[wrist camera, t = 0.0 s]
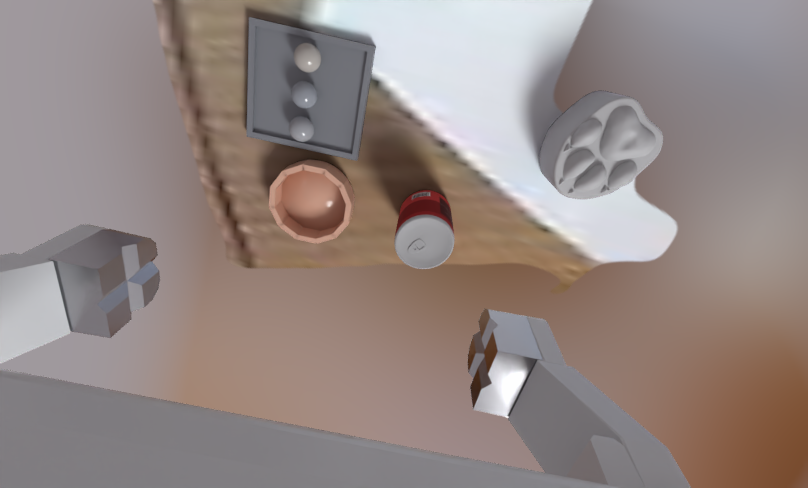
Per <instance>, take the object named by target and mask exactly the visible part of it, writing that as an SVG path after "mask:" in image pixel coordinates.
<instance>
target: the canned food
mask: <svg viewBox="0 0 808 488" xmlns="http://www.w3.org/2000/svg"><path fill="white" fill-rule="evenodd" d="M453 247H454V230H453V223H452V216H451V209H450V205H449V203H448V201H447V200H446V199H445V198H444V197H443V196H442V195H441V194H439V193H437V192H435V191H431V190H422V191H418V192H415V193H413V194H412V195H410V196H409V197H408V198H407V199H406V200H405V201H404V202H403V204H402V206H401V209H400V214H399V219H398V224H397V229H396V234H395V250H396V252H397V255H398V256H399V258H400V259H401V260H402V261H403V262H404V263H405V264H407V265H409V266H411V267H414V268H418V269H428V268H433V267H436V266H438V265H440V264H442V263H443V262H444V261H446V259H447V258H448V257H449V256H450V254H451V253H452V250H453Z"/></svg>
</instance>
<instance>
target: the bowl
mask: <svg viewBox="0 0 808 488" xmlns="http://www.w3.org/2000/svg"><path fill="white" fill-rule="evenodd" d="M354 202H355V196H354V192H353V189H352V186H351V184H350V182H349V180H348V179H347V177H346V176H345V175H344V174H343V173H342V172H341V171H340V170H339V169H338V168H336V167H335V166H333V165H331V164H329V163H327V162H324V161H321V160H314V159H307V160H303V161H299V162H297V163H295V164H292V165H289V166H288V167H286V168H285V169H284V170H283V171H282V172H281V173H280V175H279V176H278V177H277V178H276V180H275V181H274V182H273V184H272V185H271V186H270V198H269V208H270V210H271V212H272V214H273V216H274V218H275V220H276V222H277V224H278V226H279V227H280V228H282V229H283V230H284V231H286V232H287V233H288V234H290V235H291V236H292V237H294V238H295V239H297V240H302V241H307V242H311V243H316V244H317V243H320V242H324V241H328V240H331V239H335V238H336V237H337V236H338V235H339V234H340V233H341V232H342V231H343V230H344V229H345V228H346V226H347V225H348V224H349V222H350V220H351V218H352V214H353V209H354Z"/></svg>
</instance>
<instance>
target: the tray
mask: <svg viewBox="0 0 808 488" xmlns="http://www.w3.org/2000/svg"><path fill="white" fill-rule="evenodd" d="M302 43H310V44H313V45H314V46H315V47H316V48H317V49H318V50H319V52H320V54H321V64H320V66H319V68H318V69H317V70H316V71H314V72H310V73H309V72H304V71H302V70H300V69H299V68H298V67H297V65H296V64H295V61H294V51H295V49H296V47H297V46H298V45H300V44H302ZM375 48H376V46H372V45H368V44H363V43H359V42H355V41H350V40H346V39H342V38H338V37H333V36H329V35H325V34H321V33H316V32H312V31H308V30H303V29H299V28H295V27H291V26H286V25H282V24H278V23H274V22H269V21H265V20H261V19H256V18H252V17H249V42H248V92H247V137H252V138H256V139H261V140H265V141H270V142H274V143H279V144H284V145H288V146H293V147H297V148H302V149H306V150H311V151H315V152H320V153H324V154H329V155H333V156H338V157H342V158H347V159H351V160H356V161H357V160H358V157H359V151H360V144H361V138H362V131H363V125H364V118H365V112H366V106H367V99H368V93H369V86H370V80H371V73H372V67H373V61H374V54H375ZM299 81H307V82H309V83H311V84H312V85H313V86H314V87H315V88H316V90H317V94H318V98H317V101H316V103H315V104H314V105H313V106H312V107H310V108H306V109H305V108H300V107H298V106H297V105H296V104H295V103H294V102H293V100H292V97H291V90H292V87H293V86H294V85H295V84H296V83H297V82H299ZM297 116H304V117H307V118H308V119H309V120H311V122H312V123H313V125H314V134H313V136H312V138H311V139H310V140H308V141H305V142H299V141H297V140H295V139H294V138H293V137H292V136H291V135H290V133H289V124H290V122H291V120H292V119H293V118H295V117H297Z"/></svg>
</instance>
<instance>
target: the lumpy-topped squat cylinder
mask: <svg viewBox="0 0 808 488" xmlns="http://www.w3.org/2000/svg"><path fill="white" fill-rule="evenodd" d="M662 144H663V134H662V132H661V130H660V129H659V128H658V127H657V126H656V125H655V124H654V123H652V122H651V121H650V120H649V119H648V118H647V117H646V115H645V113H644V111H643V109H642V107H641V105H640V104H639V102H638V101H637V100H635V99H634V98H632V97H628V96H624V95H620V94H616V93H612V92H608V91H595V92H592V93H589V94H587V95H585V96H584V97H582V98H581V99H580V100H578V101H577V102H576V103H575V104H573V105H572V106H571V107H570V108H569V109H567V110H566V111H565V112H564V113H563V114H562V115H561V116H560V117H559V118H558V119H557V120H556V121H555V122H554V123H553V124H552V125H551V127H550V128H549V130H548V131H547V133H546V136H545V138H544V141H543V143H542V146H541V150H540V155H539V163H540V169H541V172H542V174H543V175H544V176H545V177H546V178H547V180H548V181H549V182H550V183H551V184H552V185H553V186H554V187H555V188H556V189H557V190H558V192H559V193H561V194H562V195H564V196H566V197H569V198H574V199H591V198H596V197H600V196H604V195H607V194H610V193H612V192H614V191H616V190H618V189H619V188H620V187H622V186H625V185H627V184H629V183H630V182H631V181H632V180H633V179H634V178H635V177H636V176H637V175H638V174H639V173H640V172H641V171H642V170H643V169H645V168H646V167H647V166H648V165H649V164H650V163H651V162H652V161H653V160H654V159H655V158H656V157H657V155H658V154H659V152H660V150H661V148H662Z"/></svg>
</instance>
